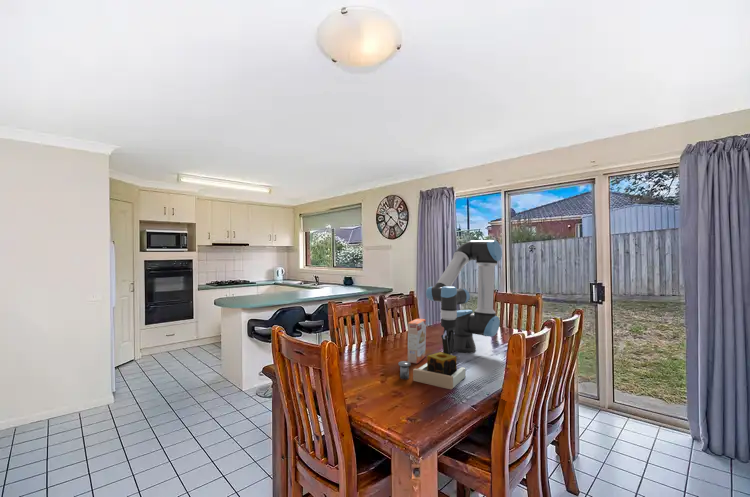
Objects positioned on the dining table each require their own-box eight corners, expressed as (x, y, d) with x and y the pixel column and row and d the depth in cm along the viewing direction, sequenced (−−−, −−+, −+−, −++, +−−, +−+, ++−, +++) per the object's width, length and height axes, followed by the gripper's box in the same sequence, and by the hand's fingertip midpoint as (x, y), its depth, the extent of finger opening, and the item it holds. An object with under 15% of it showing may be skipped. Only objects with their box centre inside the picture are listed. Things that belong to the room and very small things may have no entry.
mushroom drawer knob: (402, 374, 164) (402, 360, 164) (412, 377, 160) (412, 362, 160) (396, 378, 159) (396, 363, 159) (407, 380, 156) (407, 365, 156)
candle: (442, 383, 153) (442, 360, 153) (426, 376, 161) (426, 355, 161) (457, 378, 159) (457, 356, 159) (440, 372, 167) (440, 351, 167)
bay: (429, 369, 171) (429, 359, 171) (465, 376, 161) (465, 365, 161) (413, 380, 156) (413, 369, 156) (451, 389, 146) (451, 377, 146)
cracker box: (418, 364, 178) (418, 323, 179) (407, 362, 181) (407, 322, 181) (426, 356, 191) (426, 318, 191) (416, 355, 194) (416, 317, 194)
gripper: (446, 315, 176) (446, 362, 175) (436, 319, 165) (436, 369, 165) (460, 317, 171) (460, 364, 171) (451, 321, 161) (451, 372, 160)
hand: (448, 367), depth 168 cm, fingers closed
